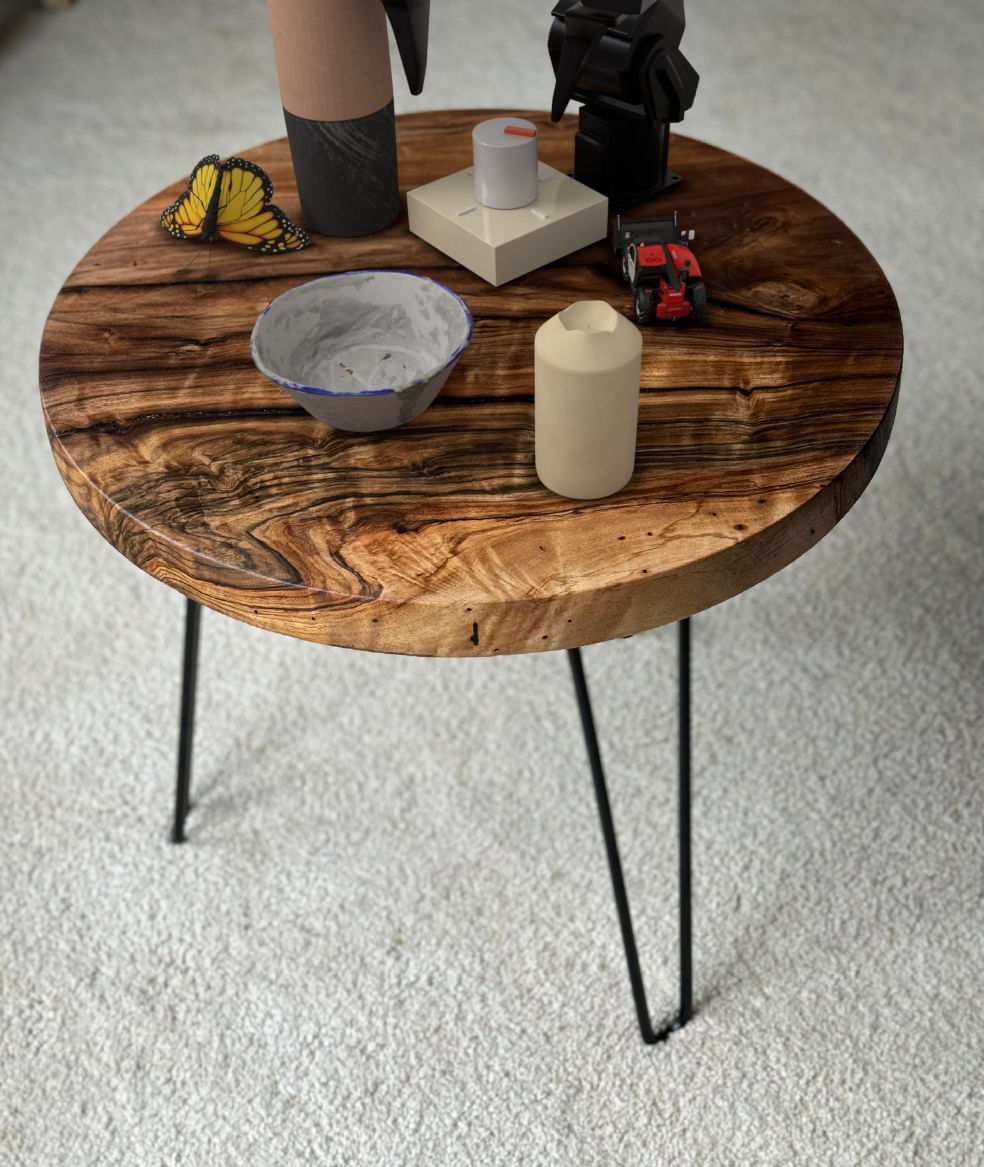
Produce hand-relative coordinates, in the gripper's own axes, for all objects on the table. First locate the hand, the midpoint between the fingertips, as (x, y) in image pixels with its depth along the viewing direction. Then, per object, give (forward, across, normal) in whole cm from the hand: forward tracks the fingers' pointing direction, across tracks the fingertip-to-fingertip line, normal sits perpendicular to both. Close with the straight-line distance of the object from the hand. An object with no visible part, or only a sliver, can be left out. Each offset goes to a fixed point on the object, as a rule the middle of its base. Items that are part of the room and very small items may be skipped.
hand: (485, 107), depth 77 cm
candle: (+13, +13, -17) cm, 25 cm away
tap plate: (+10, 0, +6) cm, 12 cm away
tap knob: (+7, 0, +6) cm, 9 cm away
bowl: (+14, -1, -14) cm, 20 cm away
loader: (+10, +12, +2) cm, 16 cm away
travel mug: (+11, -11, +6) cm, 17 cm away
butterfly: (+9, -18, -4) cm, 21 cm away
